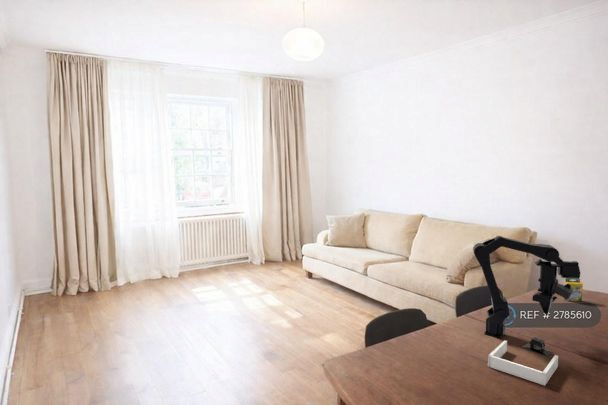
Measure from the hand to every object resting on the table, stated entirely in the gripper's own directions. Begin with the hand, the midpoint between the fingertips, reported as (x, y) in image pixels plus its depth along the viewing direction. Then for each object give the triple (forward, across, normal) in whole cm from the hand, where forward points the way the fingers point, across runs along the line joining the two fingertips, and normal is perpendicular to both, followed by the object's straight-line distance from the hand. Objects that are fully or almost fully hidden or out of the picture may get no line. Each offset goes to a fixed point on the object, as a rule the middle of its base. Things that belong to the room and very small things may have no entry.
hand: (546, 314), depth 161 cm
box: (+11, -29, 0) cm, 31 cm away
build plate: (+12, -11, 0) cm, 16 cm away
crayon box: (+11, +63, +2) cm, 64 cm away
